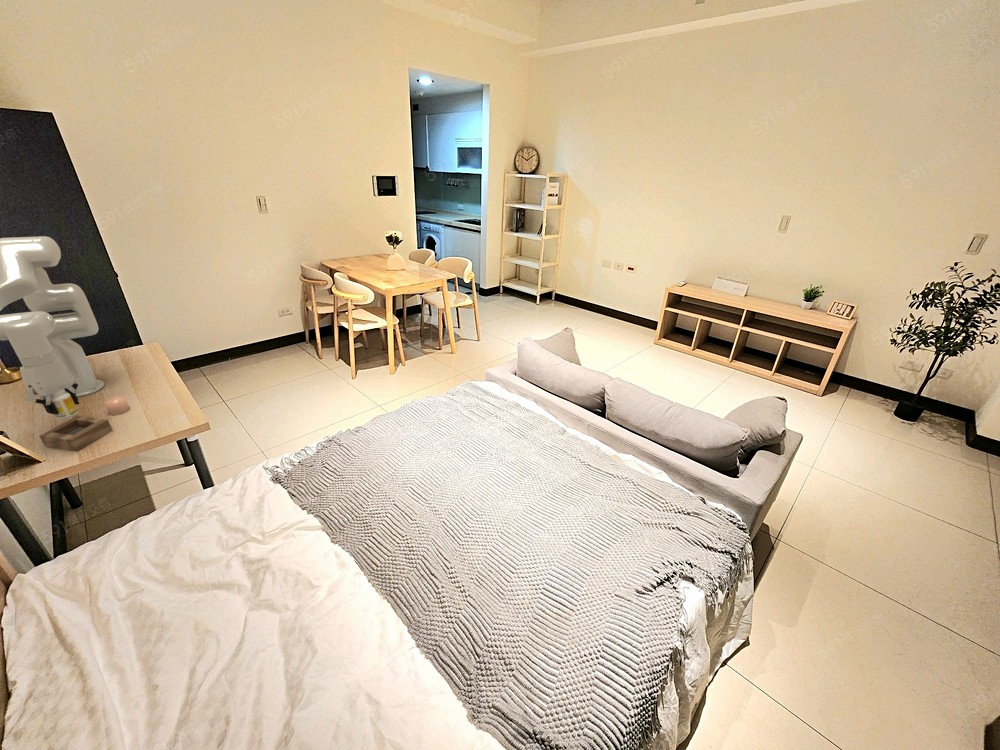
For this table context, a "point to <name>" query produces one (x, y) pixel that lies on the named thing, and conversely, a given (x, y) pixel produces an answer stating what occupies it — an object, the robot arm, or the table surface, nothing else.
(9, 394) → the table surface
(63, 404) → the supplement bottle
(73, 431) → the base block
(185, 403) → the table surface
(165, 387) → the table surface
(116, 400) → the peach rounded lump
